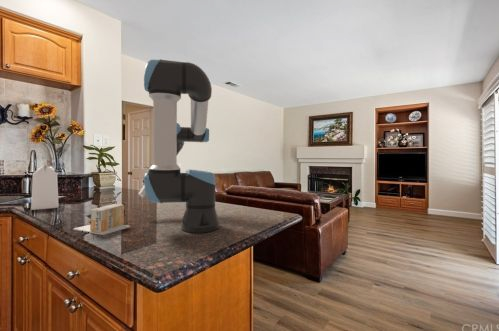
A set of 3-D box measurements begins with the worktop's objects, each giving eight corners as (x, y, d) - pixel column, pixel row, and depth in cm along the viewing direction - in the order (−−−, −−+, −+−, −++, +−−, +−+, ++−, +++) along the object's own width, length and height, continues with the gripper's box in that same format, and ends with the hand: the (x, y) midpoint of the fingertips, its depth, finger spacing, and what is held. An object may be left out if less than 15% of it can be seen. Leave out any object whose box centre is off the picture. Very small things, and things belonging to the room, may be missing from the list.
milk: (31, 206, 141) (31, 160, 140) (57, 204, 148) (57, 160, 148) (31, 209, 132) (30, 160, 131) (58, 207, 139) (58, 160, 138)
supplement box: (124, 223, 104) (101, 233, 91) (114, 222, 105) (89, 231, 92) (125, 204, 104) (101, 210, 91) (114, 203, 105) (90, 209, 92)
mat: (130, 227, 101) (130, 225, 101) (102, 235, 90) (102, 233, 90) (102, 222, 107) (102, 221, 107) (73, 229, 96) (73, 228, 96)
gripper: (179, 164, 131) (156, 201, 116) (159, 164, 136) (134, 199, 121) (172, 154, 126) (147, 191, 111) (152, 154, 131) (125, 189, 116)
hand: (140, 195), depth 116 cm, fingers closed
